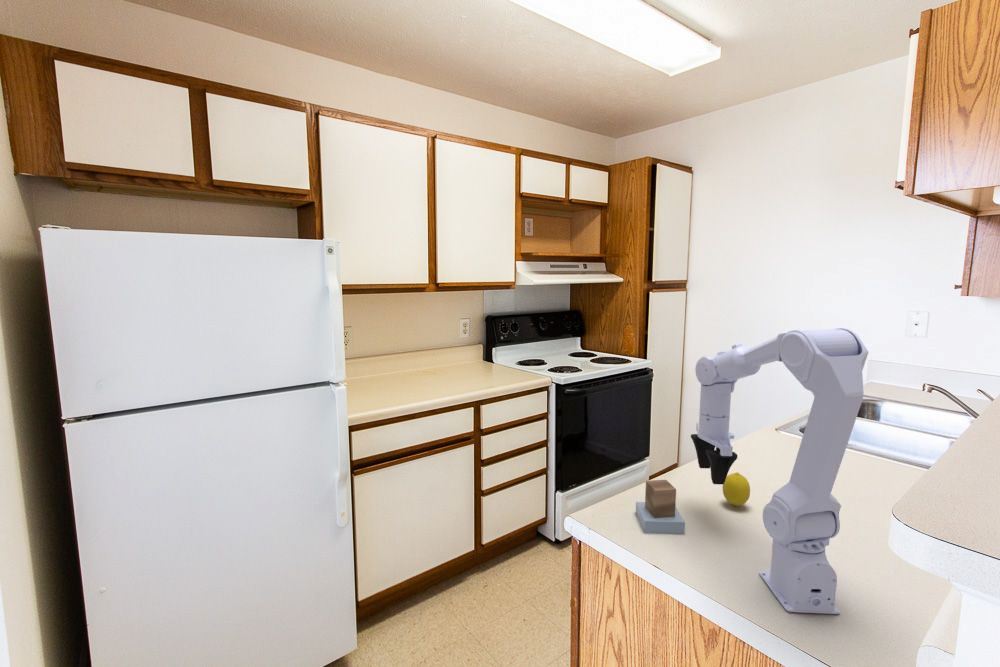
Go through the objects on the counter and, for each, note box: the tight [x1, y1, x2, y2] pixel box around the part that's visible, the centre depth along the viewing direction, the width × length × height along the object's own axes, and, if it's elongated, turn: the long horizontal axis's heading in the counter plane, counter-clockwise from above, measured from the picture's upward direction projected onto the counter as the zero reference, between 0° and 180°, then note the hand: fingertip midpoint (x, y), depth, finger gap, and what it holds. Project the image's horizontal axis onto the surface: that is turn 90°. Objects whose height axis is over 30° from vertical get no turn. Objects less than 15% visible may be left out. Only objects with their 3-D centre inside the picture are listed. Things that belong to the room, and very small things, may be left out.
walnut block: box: [644, 479, 677, 518], centre depth 97 cm, size 4×4×6 cm
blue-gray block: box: [635, 501, 686, 535], centre depth 98 cm, size 8×8×3 cm
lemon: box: [722, 472, 751, 507], centre depth 104 cm, size 6×6×8 cm
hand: (711, 475), depth 98 cm, fingers open, 7 cm apart
